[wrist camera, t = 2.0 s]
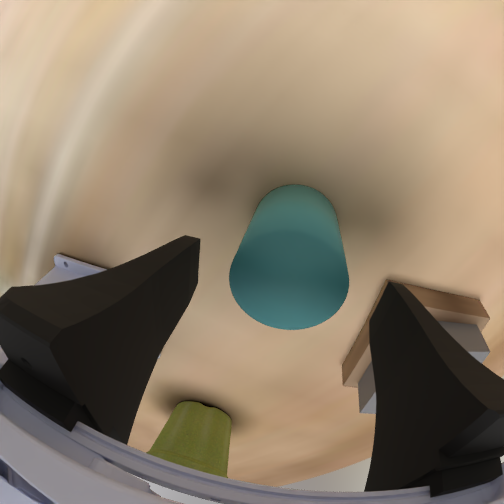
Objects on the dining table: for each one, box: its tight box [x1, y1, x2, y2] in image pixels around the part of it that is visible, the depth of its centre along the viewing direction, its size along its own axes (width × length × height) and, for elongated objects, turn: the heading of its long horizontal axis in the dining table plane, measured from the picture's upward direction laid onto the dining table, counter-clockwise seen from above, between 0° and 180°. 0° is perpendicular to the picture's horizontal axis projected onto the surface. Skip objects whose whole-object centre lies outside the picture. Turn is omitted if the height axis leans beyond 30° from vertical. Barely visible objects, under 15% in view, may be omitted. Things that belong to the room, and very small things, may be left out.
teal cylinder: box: [229, 184, 349, 330], centre depth 13 cm, size 4×4×6 cm
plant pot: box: [146, 401, 232, 478], centre depth 23 cm, size 9×9×9 cm
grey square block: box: [358, 321, 490, 414], centre depth 15 cm, size 6×6×2 cm
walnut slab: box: [342, 280, 490, 388], centre depth 17 cm, size 8×8×2 cm
